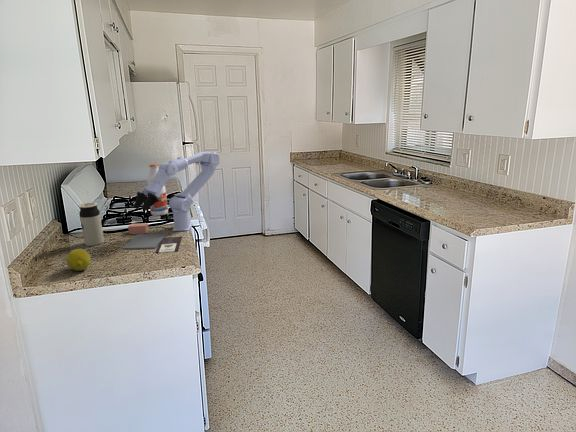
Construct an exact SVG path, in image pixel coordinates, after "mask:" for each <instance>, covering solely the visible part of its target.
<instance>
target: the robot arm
mask: <svg viewBox="0 0 576 432" xmlns="http://www.w3.org/2000/svg"><path fill="white" fill-rule="evenodd" d="M196 163H199V165H200V168H201V171H200V172H199V173H198V174H197V175H196V177H194V179H193V180H192V181H191V182H190V183H189V184H188V185H187V186H186V188H184V190H183V191H181V192H178V193H177V194H176V195H174V196H172V197H170V199H169V201H168V206H169V208H170V209H171V211H172V214H173V215H172V216H173V224H174V228H172V232H182V231H187V232H188V231H190V229H191V228H192V226H193V225H194V224H193V223H191V216H190V215H191V214H190V213H191V212H190V209H191V207H192V205H193V203H194V200H193V198H194V197H195V196H196V195H197V194H198V192H199V191H200V190H201V189H202V188H203V187H204V186H205V185H206V183H207V182H208V181H209V180H210V179H211V178H212V177H213V175H214V173H215V170H216V169H217V167H218V165H219V164H220V163H221V162H220V155H219V154H218V152H214V151H204V150H203V151H200V152H197V153H195V154H193V155H190V156H188V157H182V156H177V157H176V159H174V160H172V159H171V160H169V161H167V162H162V163H160V164H158V165H159V167H158V168H159V170H158V172H157V174H156V175H155V176H154V178H153V179H152V180H151V182H150V183H149V185H148V184H147V186H143V187H142V189H141V190H140V191H137V192H136V196H135V197H136V198H135V201H134V204H133V208H135V209H136V210H138V209H140V207H141V209H142V210H144V211H146V212H147V210H149V209H150V207H151V206H152V205H153V204H155V203H157V202H159V200H158V199H157V198H159V197H160V195H161V194H160V193H159V192H160V190H161V189H162V188H163V186H166V184H167V182H168V180H170V178H171V176H173V177H174V176H175V175H176V174H177V173H178V172H182V171H184V170H186V169H187V168H188V166H189V165H192V164H196Z"/></svg>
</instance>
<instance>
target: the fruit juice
mask: <svg viewBox="0 0 576 432" xmlns="http://www.w3.org/2000/svg"><path fill="white" fill-rule="evenodd" d="M159 165H160V164H159V163H156V162H155V163H150V164H148V166H149V172H148V176H147V178H146V183H147V186H148V185H149V183H150V182H151V180H152V179H153V178H154V176H155V175H156V174H157V172H158V170H159ZM159 193H160V194H161V195H160V197H159V198H157V199H158V200H159V202H157V203H155V204H153V205H152V206H151V207H150V208H149V210H150V214H151V215H152V216H164V215H167V214H168V213H169V207H168V206H169V204H168V200H167V190H166V185H164V186H163V188H162V189H161V190H160V192H159Z"/></svg>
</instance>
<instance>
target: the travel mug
mask: <svg viewBox="0 0 576 432" xmlns="http://www.w3.org/2000/svg"><path fill="white" fill-rule="evenodd" d="M78 208H79V211H78V214H79V219H80V220H79V221H80V225H81V230H82V235H83V242H84V245H86V246H88V247H89V246H90V247H93V246H94V247H95V246H98V245H101V244H103V243H104V242H105V237H104V230H103V225H102V220H101V213H100V210H99V208H98V203H97V202H84V203H80V204H79V205H78Z"/></svg>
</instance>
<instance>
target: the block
mask: <svg viewBox="0 0 576 432" xmlns="http://www.w3.org/2000/svg"><path fill="white" fill-rule="evenodd" d="M127 229H128V234H129V235H137V234H148V233H149V231H150V228H149V223H146V222H144V223H143V222H142V223H131V224H129V225H128V226H127Z"/></svg>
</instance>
